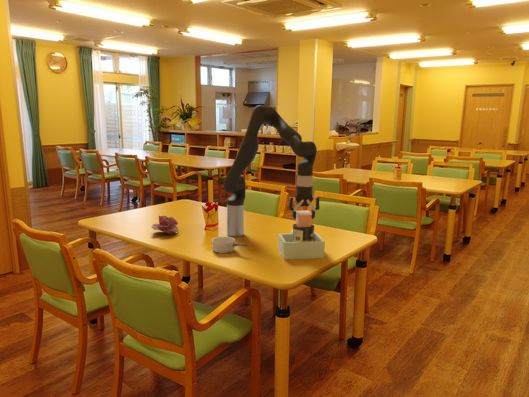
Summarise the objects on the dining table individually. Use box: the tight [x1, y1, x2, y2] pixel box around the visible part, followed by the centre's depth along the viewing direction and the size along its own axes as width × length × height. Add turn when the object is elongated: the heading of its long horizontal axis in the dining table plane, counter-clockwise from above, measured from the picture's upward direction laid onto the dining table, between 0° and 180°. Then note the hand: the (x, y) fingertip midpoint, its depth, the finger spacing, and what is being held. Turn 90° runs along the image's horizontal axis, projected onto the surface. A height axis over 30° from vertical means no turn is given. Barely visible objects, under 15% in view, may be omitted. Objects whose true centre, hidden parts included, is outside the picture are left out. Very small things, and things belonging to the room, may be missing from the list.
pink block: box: [295, 209, 312, 227], centre depth 195 cm, size 6×6×7 cm
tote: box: [277, 232, 326, 260], centre depth 198 cm, size 19×15×8 cm
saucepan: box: [211, 236, 249, 254], centre depth 200 cm, size 12×20×6 cm, turn 56°
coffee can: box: [292, 223, 315, 242], centre depth 197 cm, size 10×10×14 cm
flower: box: [151, 215, 179, 235], centre depth 231 cm, size 15×15×10 cm
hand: (303, 218), depth 195 cm, fingers open, 8 cm apart
